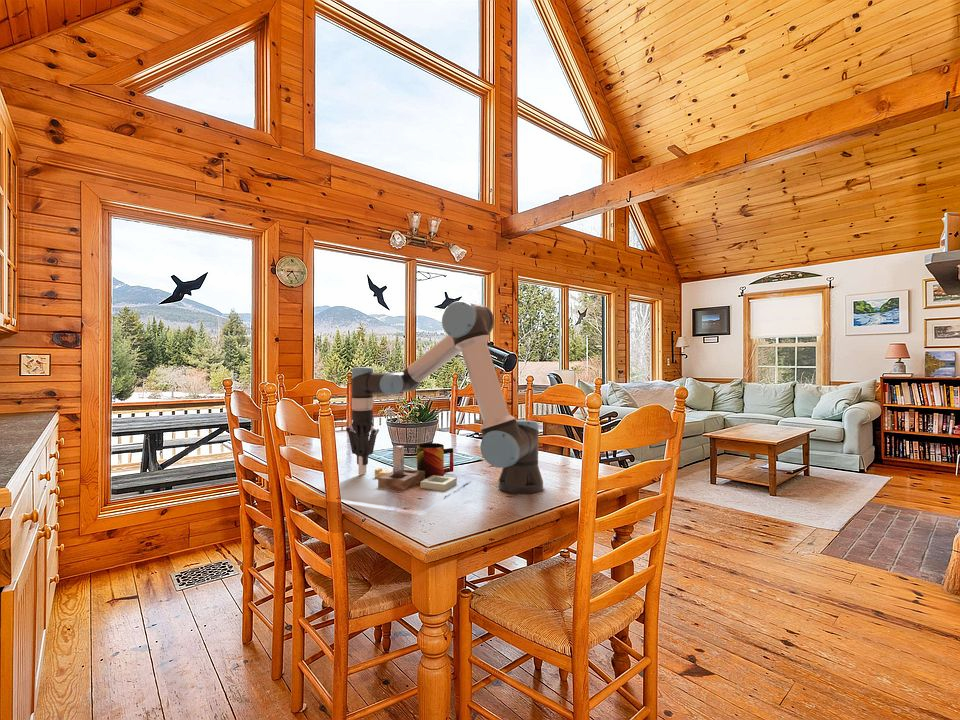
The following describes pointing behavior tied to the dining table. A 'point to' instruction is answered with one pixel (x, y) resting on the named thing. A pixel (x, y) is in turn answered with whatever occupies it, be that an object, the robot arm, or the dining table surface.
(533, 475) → the robot arm
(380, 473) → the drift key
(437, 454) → the mug
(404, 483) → the socket block
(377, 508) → the dining table surface
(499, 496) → the dining table surface
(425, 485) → the cream square frame
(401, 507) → the dining table surface
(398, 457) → the peg
